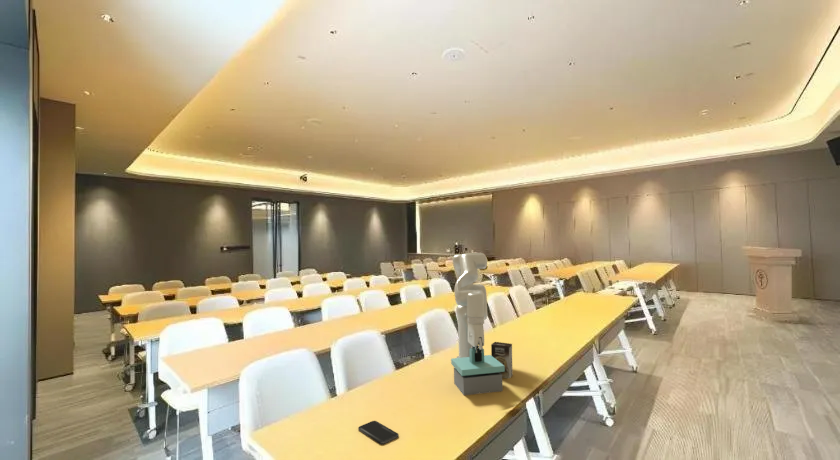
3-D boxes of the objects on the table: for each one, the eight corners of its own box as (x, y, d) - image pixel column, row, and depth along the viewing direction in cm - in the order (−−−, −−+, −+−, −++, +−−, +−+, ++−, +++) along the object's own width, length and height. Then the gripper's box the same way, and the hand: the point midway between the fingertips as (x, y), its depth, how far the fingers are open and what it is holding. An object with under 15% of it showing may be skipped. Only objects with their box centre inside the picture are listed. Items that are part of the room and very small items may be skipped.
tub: (454, 385, 175) (453, 367, 175) (490, 381, 178) (489, 364, 179) (463, 397, 161) (463, 378, 161) (502, 392, 165) (502, 374, 165)
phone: (381, 443, 124) (357, 427, 135) (381, 446, 124) (357, 430, 135) (400, 434, 130) (374, 419, 141) (400, 437, 130) (375, 422, 141)
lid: (451, 363, 176) (450, 345, 176) (490, 360, 180) (490, 342, 180) (461, 375, 161) (461, 356, 161) (504, 371, 165) (504, 352, 165)
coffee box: (491, 377, 183) (490, 344, 184) (495, 373, 189) (494, 341, 189) (509, 380, 179) (508, 346, 180) (513, 376, 185) (512, 343, 185)
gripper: (462, 316, 178) (463, 355, 178) (474, 324, 162) (475, 367, 162) (477, 315, 180) (478, 354, 179) (490, 323, 164) (491, 365, 163)
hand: (476, 359), depth 170 cm, fingers closed on lid, 3 cm apart
